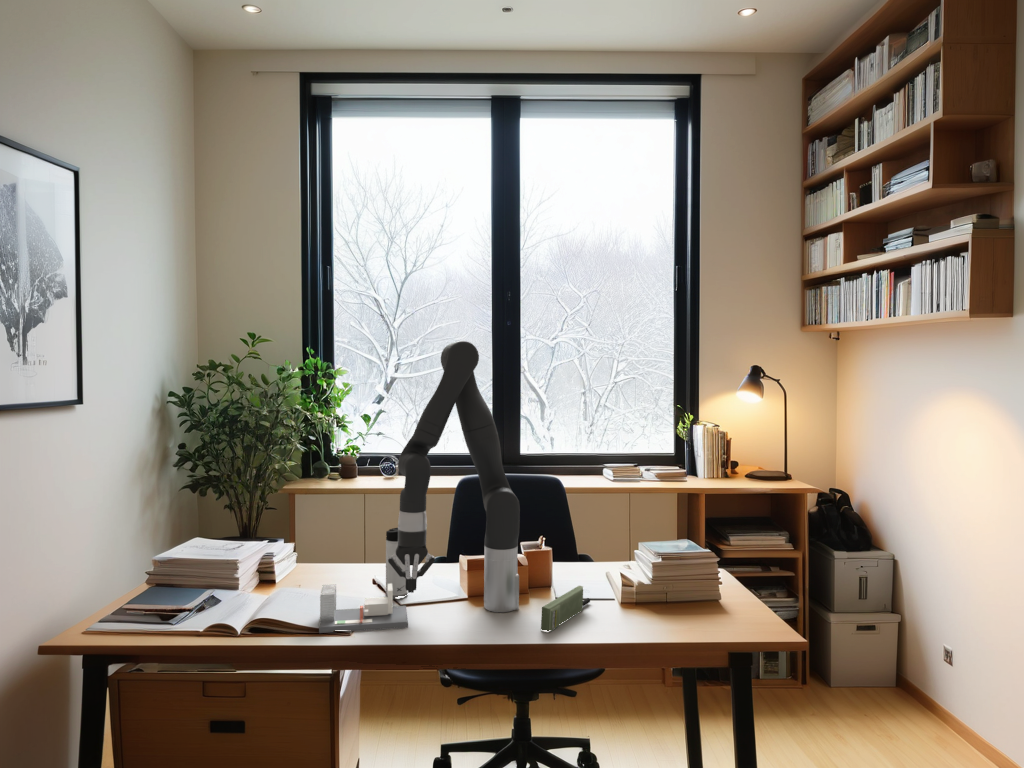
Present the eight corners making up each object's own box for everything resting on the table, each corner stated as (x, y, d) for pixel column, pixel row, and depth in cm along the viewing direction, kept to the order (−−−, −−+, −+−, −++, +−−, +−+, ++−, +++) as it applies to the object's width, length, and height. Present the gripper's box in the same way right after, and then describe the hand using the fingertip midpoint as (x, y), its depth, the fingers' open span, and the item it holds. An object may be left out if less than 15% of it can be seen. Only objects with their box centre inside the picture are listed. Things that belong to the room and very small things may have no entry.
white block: (392, 607, 189) (392, 583, 188) (392, 617, 181) (392, 592, 181) (364, 608, 187) (364, 584, 187) (364, 619, 180) (364, 594, 179)
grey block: (336, 610, 187) (336, 584, 187) (334, 621, 179) (334, 594, 179) (322, 611, 186) (322, 584, 186) (320, 622, 178) (320, 594, 178)
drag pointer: (363, 617, 181) (363, 605, 181) (362, 622, 177) (362, 611, 177) (360, 617, 181) (360, 605, 181) (359, 623, 177) (359, 611, 177)
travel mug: (404, 600, 199) (404, 530, 199) (382, 598, 201) (382, 529, 200) (411, 593, 206) (412, 525, 205) (390, 591, 207) (390, 524, 206)
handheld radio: (538, 631, 178) (582, 603, 199) (549, 634, 176) (593, 606, 197) (539, 605, 178) (583, 580, 199) (551, 608, 176) (594, 582, 197)
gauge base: (406, 611, 191) (406, 604, 191) (407, 627, 179) (408, 620, 179) (322, 615, 187) (322, 609, 187) (319, 633, 175) (319, 626, 175)
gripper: (436, 523, 191) (434, 586, 192) (387, 524, 189) (385, 587, 189) (438, 530, 184) (436, 595, 184) (387, 530, 181) (385, 597, 182)
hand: (410, 591), depth 187 cm, fingers closed
